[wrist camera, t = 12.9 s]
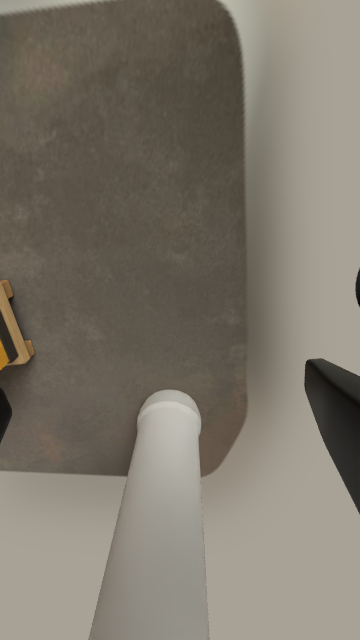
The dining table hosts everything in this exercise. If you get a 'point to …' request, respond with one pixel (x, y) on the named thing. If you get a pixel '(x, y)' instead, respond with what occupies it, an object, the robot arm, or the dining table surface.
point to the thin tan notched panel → (14, 326)
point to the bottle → (158, 533)
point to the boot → (6, 345)
